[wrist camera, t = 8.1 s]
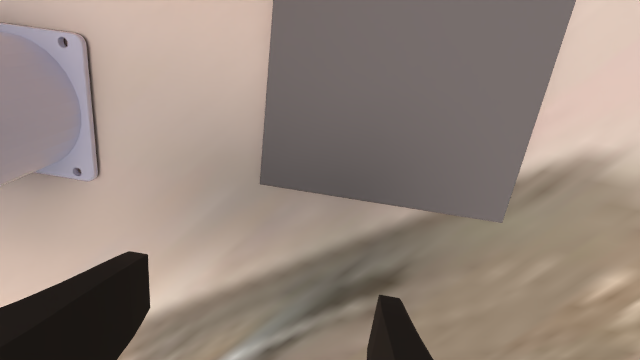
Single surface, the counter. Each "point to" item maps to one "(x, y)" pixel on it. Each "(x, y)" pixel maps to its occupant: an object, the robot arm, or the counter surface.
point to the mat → (408, 98)
